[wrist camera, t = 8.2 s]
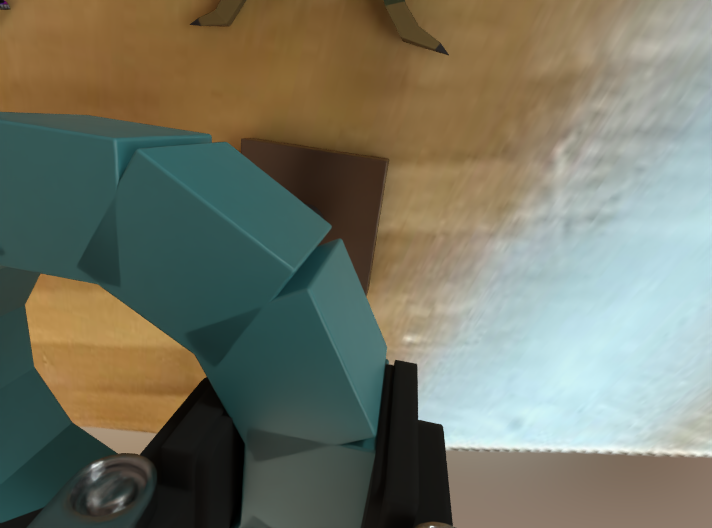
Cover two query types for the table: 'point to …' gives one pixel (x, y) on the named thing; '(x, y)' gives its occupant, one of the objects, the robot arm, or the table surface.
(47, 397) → the ring
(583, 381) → the table surface
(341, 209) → the stand
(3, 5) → the character figure
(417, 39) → the octopus toy
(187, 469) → the robot arm
